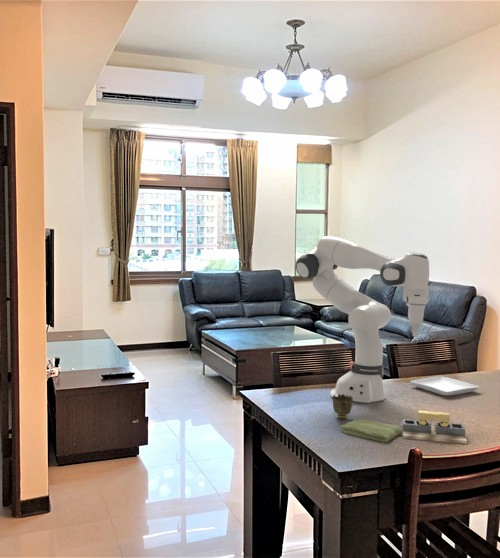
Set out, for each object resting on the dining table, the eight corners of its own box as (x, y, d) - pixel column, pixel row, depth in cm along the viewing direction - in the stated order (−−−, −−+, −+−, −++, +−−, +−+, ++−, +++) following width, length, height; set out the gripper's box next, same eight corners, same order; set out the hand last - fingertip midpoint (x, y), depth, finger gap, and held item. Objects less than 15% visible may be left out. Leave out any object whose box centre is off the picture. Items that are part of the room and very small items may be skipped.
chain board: (403, 438, 188) (403, 435, 188) (401, 425, 201) (401, 422, 201) (466, 443, 184) (466, 440, 184) (460, 430, 197) (460, 427, 197)
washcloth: (355, 423, 203) (356, 414, 203) (402, 434, 193) (403, 425, 193) (338, 433, 193) (338, 424, 193) (387, 445, 182) (387, 435, 182)
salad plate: (441, 382, 264) (441, 375, 264) (480, 393, 246) (480, 385, 246) (408, 387, 254) (409, 380, 253) (446, 400, 235) (447, 391, 235)
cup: (339, 422, 203) (340, 400, 202) (327, 416, 209) (328, 395, 209) (356, 419, 206) (357, 398, 206) (344, 414, 213) (344, 393, 212)
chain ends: (402, 431, 192) (403, 424, 192) (401, 426, 197) (402, 419, 197) (465, 436, 188) (465, 429, 188) (462, 431, 193) (462, 424, 193)
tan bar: (418, 431, 192) (418, 412, 192) (417, 428, 195) (418, 410, 194) (449, 433, 190) (449, 415, 190) (447, 431, 193) (448, 412, 192)
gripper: (405, 293, 219) (403, 329, 220) (408, 299, 199) (407, 338, 200) (422, 294, 217) (420, 330, 218) (427, 300, 197) (425, 339, 198)
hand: (414, 334), depth 209 cm, fingers open, 8 cm apart
